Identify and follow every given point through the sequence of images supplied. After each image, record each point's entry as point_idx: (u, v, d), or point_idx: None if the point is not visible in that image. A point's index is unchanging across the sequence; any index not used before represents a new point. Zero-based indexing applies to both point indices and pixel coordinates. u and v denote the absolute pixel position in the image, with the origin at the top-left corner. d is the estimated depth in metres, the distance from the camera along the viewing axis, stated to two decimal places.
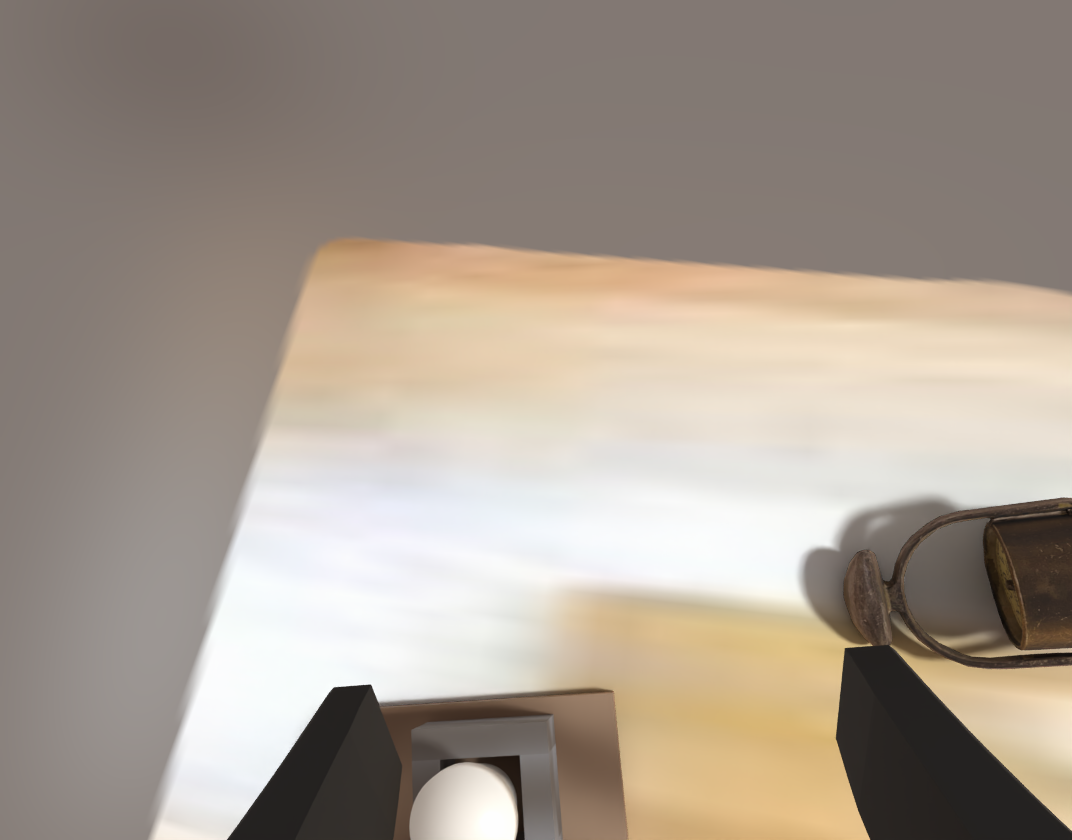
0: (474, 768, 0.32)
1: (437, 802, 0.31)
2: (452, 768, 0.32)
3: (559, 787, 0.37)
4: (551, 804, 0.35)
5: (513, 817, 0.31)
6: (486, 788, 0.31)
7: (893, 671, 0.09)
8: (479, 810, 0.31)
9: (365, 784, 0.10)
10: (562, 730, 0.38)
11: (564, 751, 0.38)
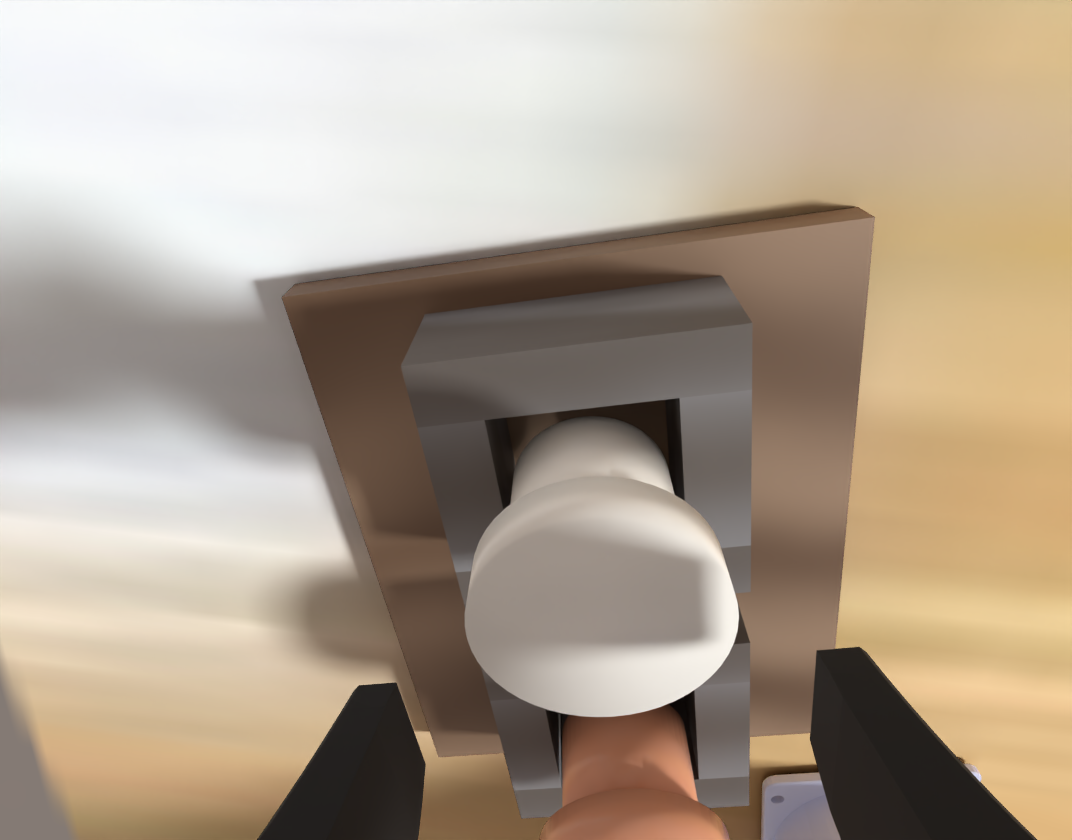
0: (628, 514, 0.11)
1: (532, 590, 0.12)
2: (565, 520, 0.11)
3: None
4: (749, 480, 0.16)
5: None
6: (667, 556, 0.11)
7: (862, 673, 0.09)
8: (648, 598, 0.12)
9: (392, 782, 0.10)
10: None
11: None
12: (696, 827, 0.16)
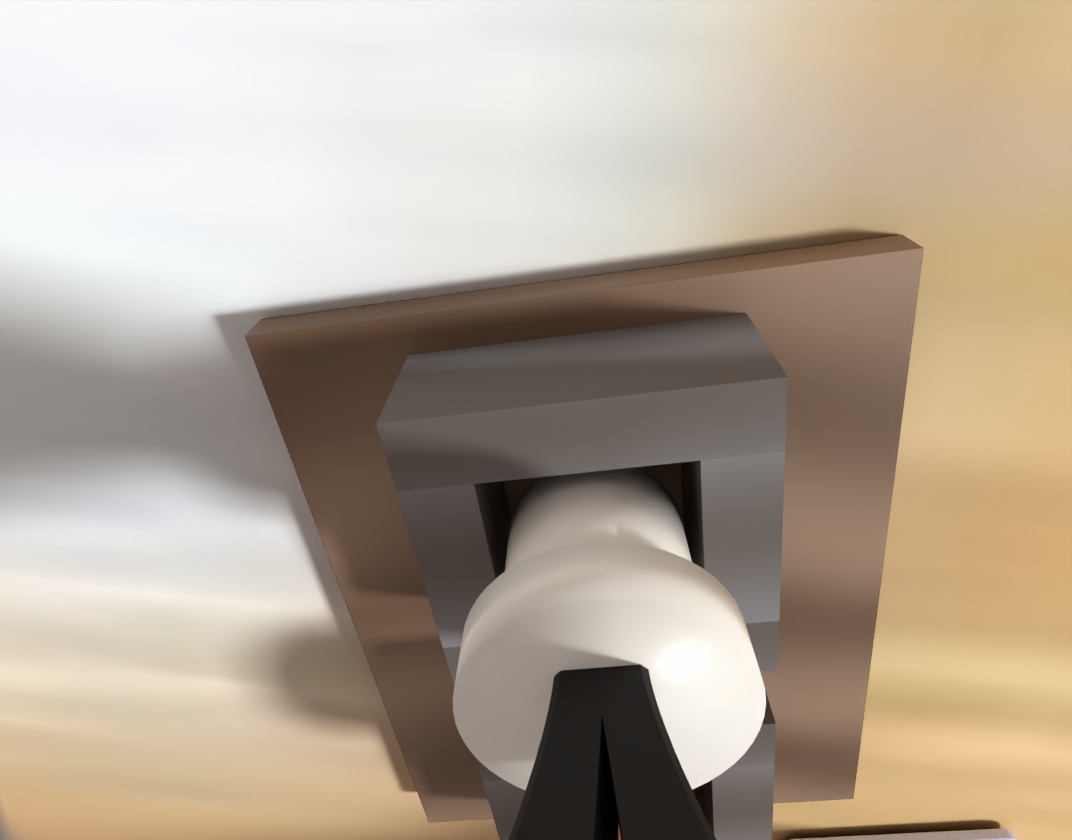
0: (640, 592, 0.10)
1: (530, 674, 0.10)
2: (568, 599, 0.10)
3: None
4: (778, 551, 0.14)
5: None
6: (684, 639, 0.10)
7: (630, 690, 0.10)
8: (662, 683, 0.10)
9: (608, 769, 0.10)
10: None
11: None
12: None
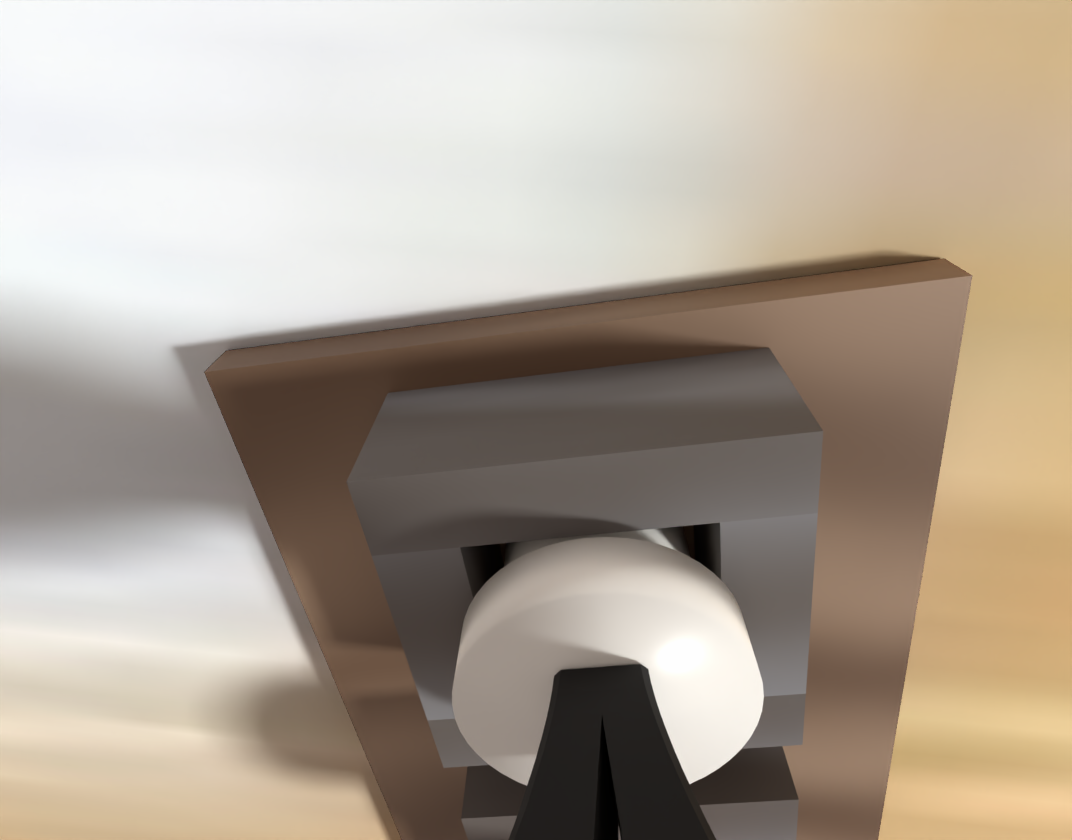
0: (639, 586, 0.10)
1: (529, 669, 0.10)
2: (566, 594, 0.10)
3: None
4: (807, 620, 0.12)
5: None
6: (682, 633, 0.10)
7: (630, 690, 0.10)
8: (660, 677, 0.10)
9: (608, 769, 0.10)
10: None
11: None
12: None
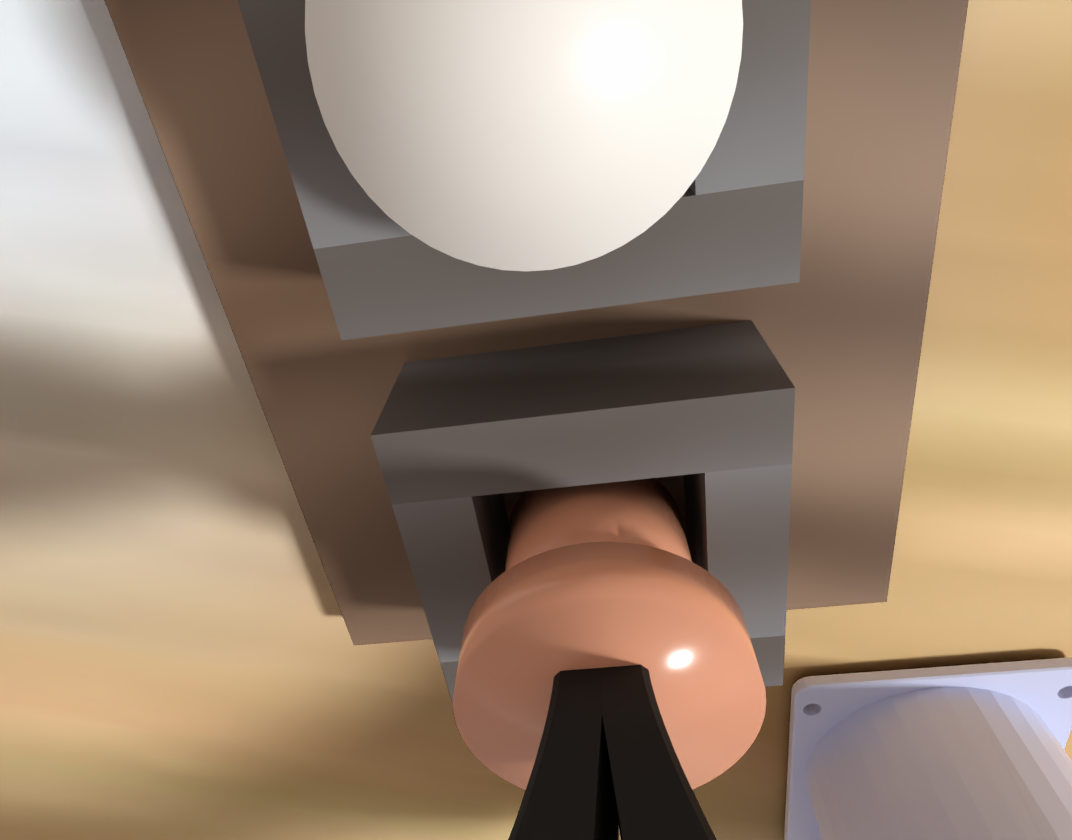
0: None
1: None
2: None
3: None
4: (805, 29, 0.09)
5: None
6: None
7: (630, 690, 0.10)
8: None
9: (608, 769, 0.10)
10: None
11: None
12: (698, 592, 0.10)
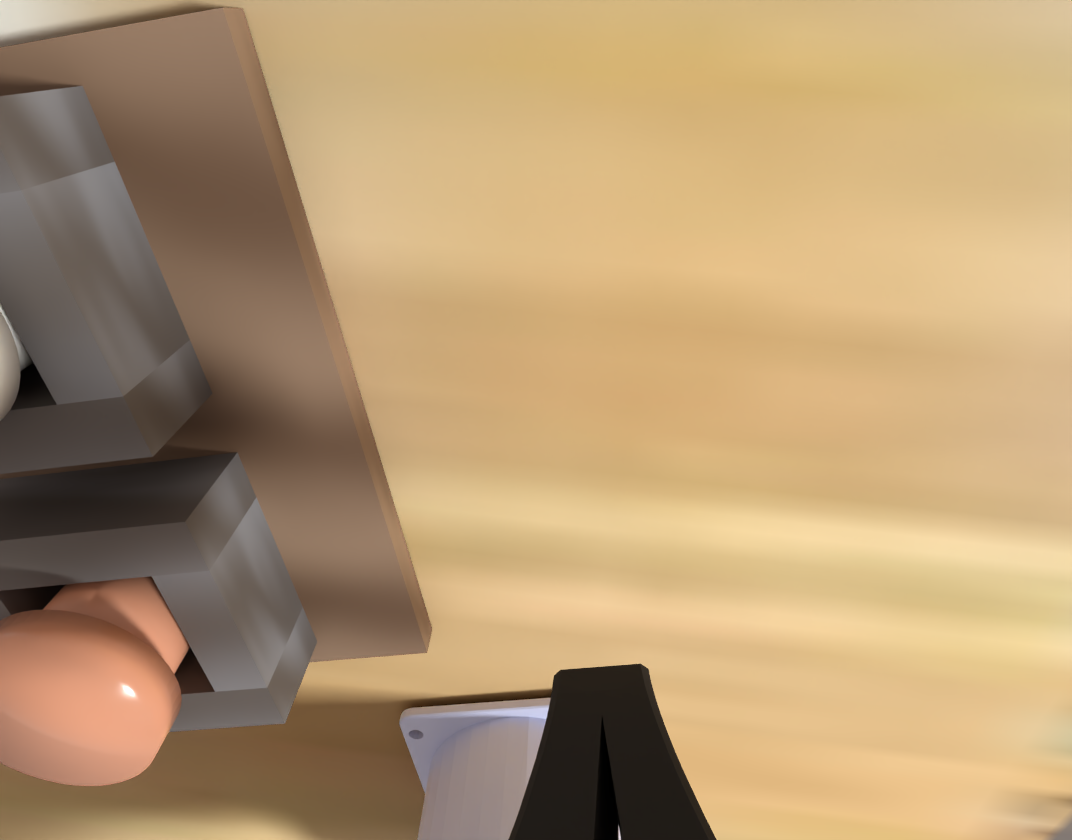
0: None
1: None
2: None
3: (156, 259, 0.16)
4: (80, 312, 0.14)
5: None
6: None
7: (630, 690, 0.10)
8: None
9: (608, 769, 0.10)
10: (120, 127, 0.15)
11: (142, 178, 0.15)
12: (90, 644, 0.15)
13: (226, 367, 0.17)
